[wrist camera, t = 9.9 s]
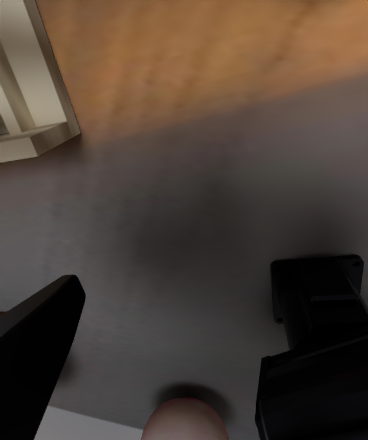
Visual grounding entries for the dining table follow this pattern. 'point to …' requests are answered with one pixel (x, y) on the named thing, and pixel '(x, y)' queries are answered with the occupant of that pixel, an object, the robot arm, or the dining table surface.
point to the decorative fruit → (184, 422)
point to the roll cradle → (30, 86)
